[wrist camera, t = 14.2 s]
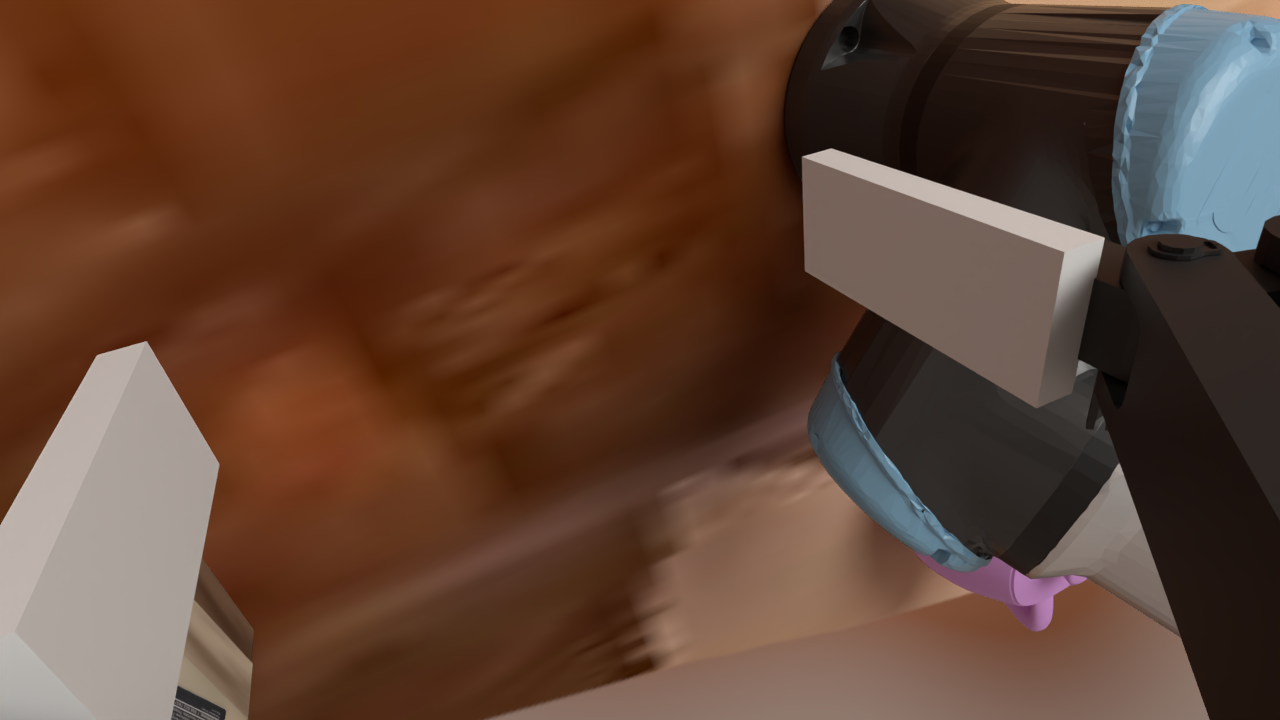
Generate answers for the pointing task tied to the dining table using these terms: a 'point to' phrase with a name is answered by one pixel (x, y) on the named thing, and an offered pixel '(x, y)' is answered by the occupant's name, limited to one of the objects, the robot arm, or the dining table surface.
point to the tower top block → (215, 667)
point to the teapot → (1010, 589)
